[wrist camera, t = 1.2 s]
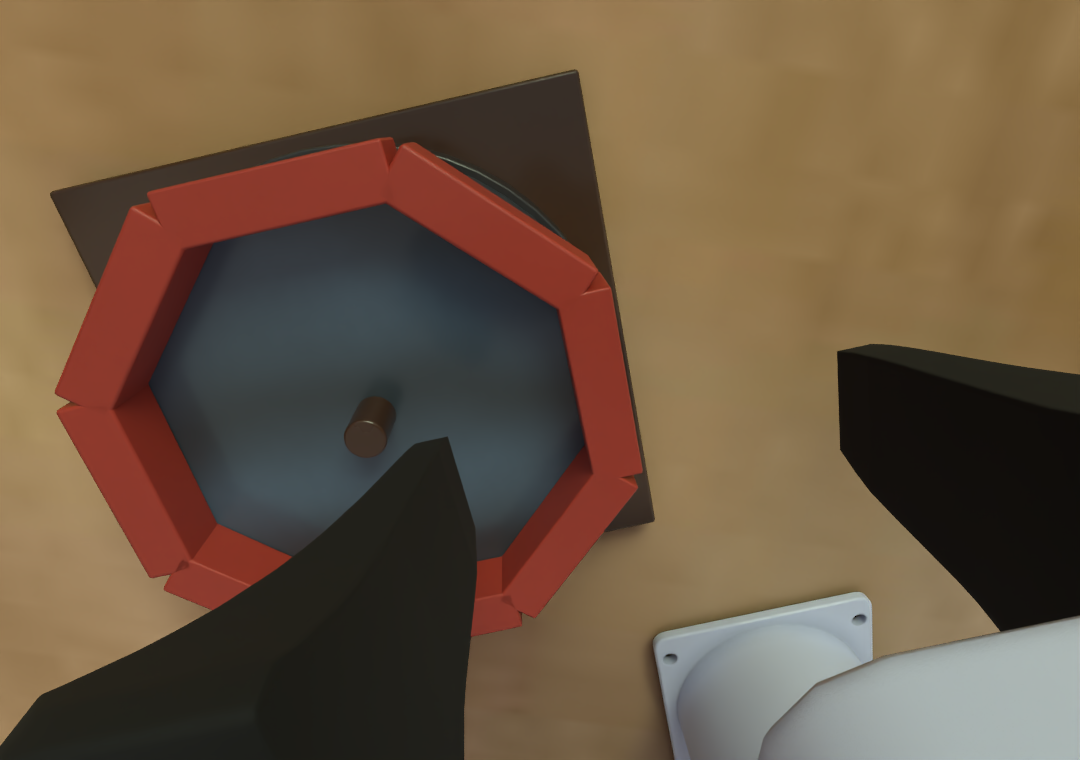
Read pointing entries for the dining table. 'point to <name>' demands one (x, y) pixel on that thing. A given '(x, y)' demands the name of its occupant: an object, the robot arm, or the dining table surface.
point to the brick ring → (296, 197)
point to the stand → (377, 328)
